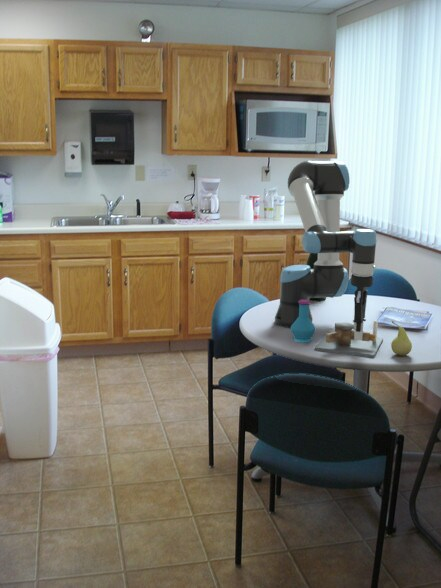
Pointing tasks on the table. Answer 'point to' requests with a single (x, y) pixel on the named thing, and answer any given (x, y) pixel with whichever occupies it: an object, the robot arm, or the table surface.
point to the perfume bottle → (303, 324)
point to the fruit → (401, 343)
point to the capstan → (346, 334)
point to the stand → (352, 345)
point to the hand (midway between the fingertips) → (358, 339)
